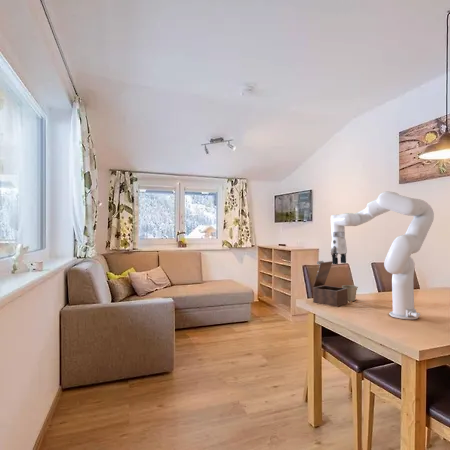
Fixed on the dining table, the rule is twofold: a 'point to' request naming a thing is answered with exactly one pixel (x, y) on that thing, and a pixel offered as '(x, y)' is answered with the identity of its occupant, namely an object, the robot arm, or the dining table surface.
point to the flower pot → (351, 292)
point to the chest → (330, 295)
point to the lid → (322, 273)
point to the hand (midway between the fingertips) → (339, 263)
